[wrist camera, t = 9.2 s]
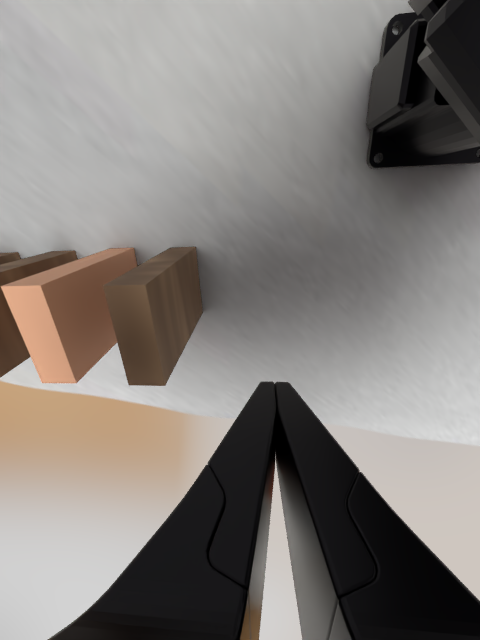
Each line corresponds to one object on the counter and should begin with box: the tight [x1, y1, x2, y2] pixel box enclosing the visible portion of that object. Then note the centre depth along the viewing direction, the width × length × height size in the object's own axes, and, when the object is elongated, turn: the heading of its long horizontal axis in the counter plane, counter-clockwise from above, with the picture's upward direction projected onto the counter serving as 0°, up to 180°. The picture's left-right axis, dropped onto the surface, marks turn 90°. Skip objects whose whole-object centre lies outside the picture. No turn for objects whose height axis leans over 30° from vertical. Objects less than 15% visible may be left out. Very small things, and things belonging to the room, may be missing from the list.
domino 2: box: [1, 248, 137, 383], centre depth 16 cm, size 2×5×9 cm, turn 3°
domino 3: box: [103, 247, 203, 386], centre depth 16 cm, size 2×5×9 cm, turn 3°
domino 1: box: [0, 251, 78, 377], centre depth 17 cm, size 2×5×9 cm, turn 2°
